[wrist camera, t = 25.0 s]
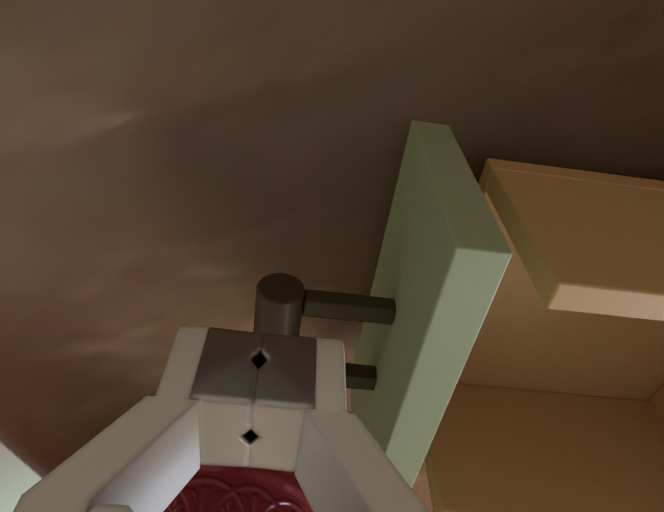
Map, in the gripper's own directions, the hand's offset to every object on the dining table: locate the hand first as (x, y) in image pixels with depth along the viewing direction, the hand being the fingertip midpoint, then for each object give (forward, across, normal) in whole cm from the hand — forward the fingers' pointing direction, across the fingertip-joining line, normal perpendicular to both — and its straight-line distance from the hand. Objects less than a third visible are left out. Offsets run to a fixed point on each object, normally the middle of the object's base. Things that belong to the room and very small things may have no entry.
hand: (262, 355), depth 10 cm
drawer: (+8, -8, +4) cm, 13 cm away
